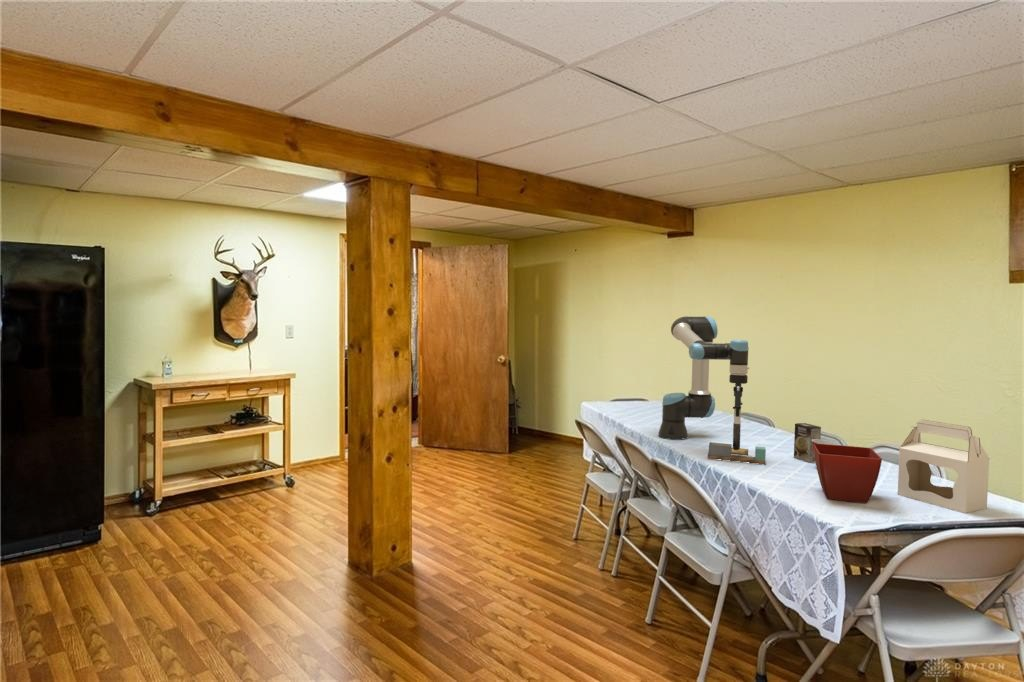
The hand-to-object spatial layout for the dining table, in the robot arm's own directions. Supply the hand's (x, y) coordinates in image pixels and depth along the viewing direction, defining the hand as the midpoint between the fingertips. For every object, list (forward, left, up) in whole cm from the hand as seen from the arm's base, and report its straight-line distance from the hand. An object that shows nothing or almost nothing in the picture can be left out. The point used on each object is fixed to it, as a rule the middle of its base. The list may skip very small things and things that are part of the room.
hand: (737, 421), depth 253 cm
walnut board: (0, 0, -18) cm, 18 cm away
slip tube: (-2, -1, -15) cm, 15 cm away
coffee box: (+11, +31, -18) cm, 37 cm away
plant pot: (+54, -2, -18) cm, 57 cm away
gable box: (+70, +26, -18) cm, 77 cm away
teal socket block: (+7, +7, -16) cm, 19 cm away
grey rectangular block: (-5, -5, -16) cm, 18 cm away
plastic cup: (+25, +25, -18) cm, 39 cm away
